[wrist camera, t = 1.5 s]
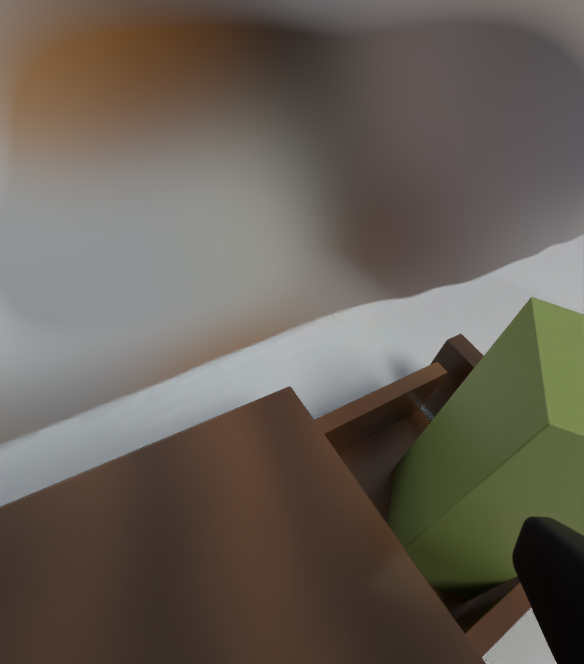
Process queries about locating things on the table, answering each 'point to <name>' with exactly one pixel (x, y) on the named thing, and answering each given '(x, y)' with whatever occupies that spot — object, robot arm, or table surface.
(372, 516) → the cabinet
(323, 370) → the table surface
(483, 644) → the drawer
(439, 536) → the olive green pillar
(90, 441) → the table surface
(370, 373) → the table surface
